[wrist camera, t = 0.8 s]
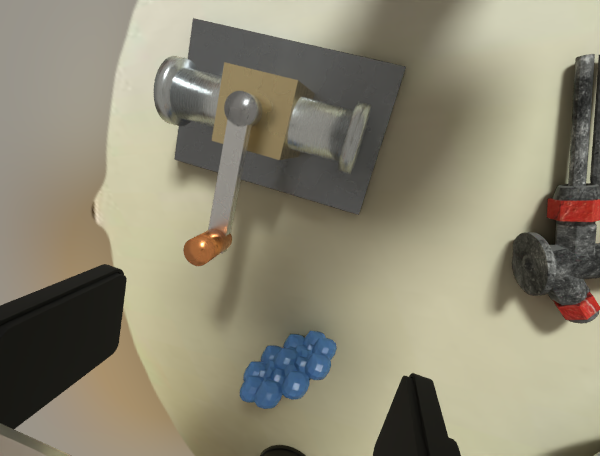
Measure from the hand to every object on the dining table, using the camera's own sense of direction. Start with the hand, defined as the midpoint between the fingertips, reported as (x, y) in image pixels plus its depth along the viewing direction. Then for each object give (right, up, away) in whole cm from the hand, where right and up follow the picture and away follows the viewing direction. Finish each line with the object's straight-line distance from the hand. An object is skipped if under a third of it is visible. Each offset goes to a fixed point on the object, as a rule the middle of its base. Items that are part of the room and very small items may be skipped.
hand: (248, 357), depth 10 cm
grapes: (+2, -12, +35) cm, 37 cm away
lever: (-4, +9, +20) cm, 22 cm away
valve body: (-1, +17, +28) cm, 33 cm away
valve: (+32, +8, +23) cm, 40 cm away
